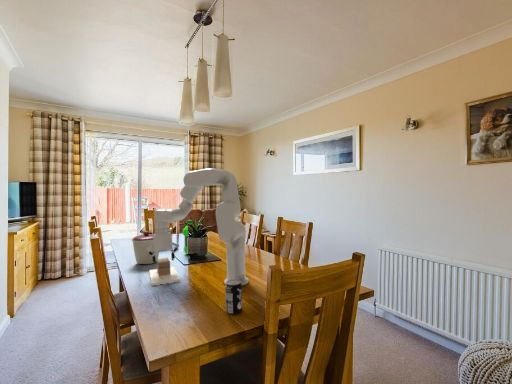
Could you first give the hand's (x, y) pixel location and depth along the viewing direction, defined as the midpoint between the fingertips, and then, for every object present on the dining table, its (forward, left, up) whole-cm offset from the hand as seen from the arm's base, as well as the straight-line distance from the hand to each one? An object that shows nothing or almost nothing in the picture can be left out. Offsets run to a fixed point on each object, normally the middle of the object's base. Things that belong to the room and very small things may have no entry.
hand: (163, 261), depth 154 cm
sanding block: (0, 0, -7) cm, 7 cm away
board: (-3, 0, -8) cm, 8 cm away
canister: (+32, +7, -8) cm, 34 cm away
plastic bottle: (+40, -23, -8) cm, 47 cm away
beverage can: (-60, -21, -8) cm, 64 cm away
